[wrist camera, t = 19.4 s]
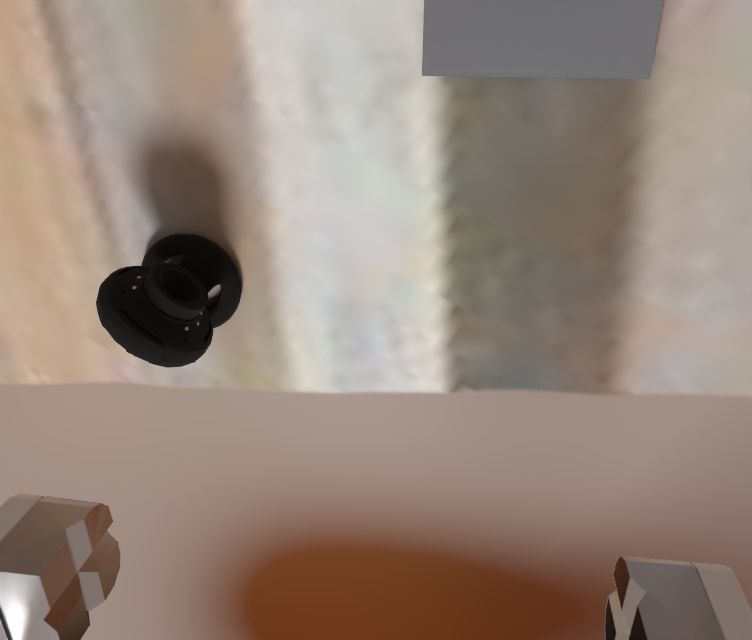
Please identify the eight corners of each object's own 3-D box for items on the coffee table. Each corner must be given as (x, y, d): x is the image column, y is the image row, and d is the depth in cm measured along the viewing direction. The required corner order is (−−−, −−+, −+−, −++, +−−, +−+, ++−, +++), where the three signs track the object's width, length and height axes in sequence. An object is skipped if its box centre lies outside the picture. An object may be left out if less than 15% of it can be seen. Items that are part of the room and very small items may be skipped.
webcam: (264, 280, 46) (214, 344, 38) (209, 344, 50) (150, 417, 41) (178, 209, 45) (104, 257, 36) (126, 279, 48) (47, 340, 39)
